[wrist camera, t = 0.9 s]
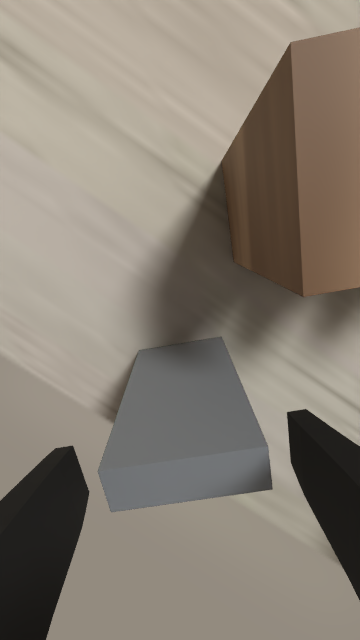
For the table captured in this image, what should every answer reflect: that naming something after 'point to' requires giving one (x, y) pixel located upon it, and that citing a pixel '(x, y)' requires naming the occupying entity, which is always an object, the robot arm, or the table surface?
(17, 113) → the table surface
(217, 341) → the domino
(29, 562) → the robot arm
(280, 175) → the domino
